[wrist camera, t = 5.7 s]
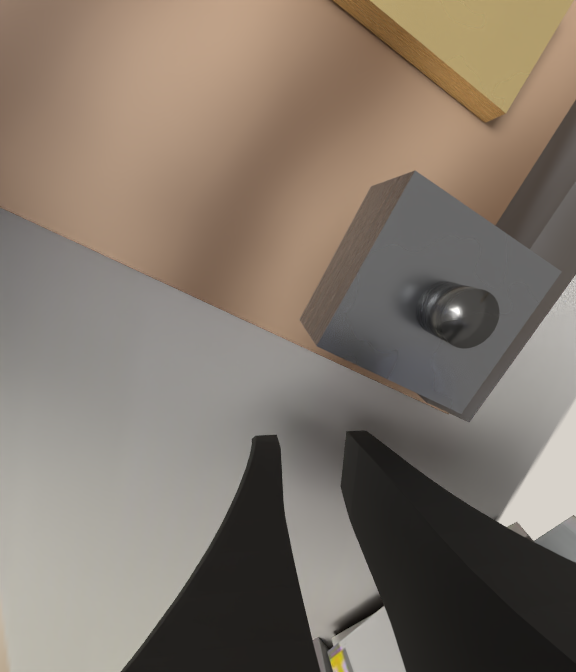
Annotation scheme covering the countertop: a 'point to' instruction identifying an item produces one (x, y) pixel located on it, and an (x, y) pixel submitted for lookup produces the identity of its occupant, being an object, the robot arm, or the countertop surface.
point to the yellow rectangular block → (466, 43)
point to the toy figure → (376, 631)
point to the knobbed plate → (425, 291)
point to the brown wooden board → (263, 146)
